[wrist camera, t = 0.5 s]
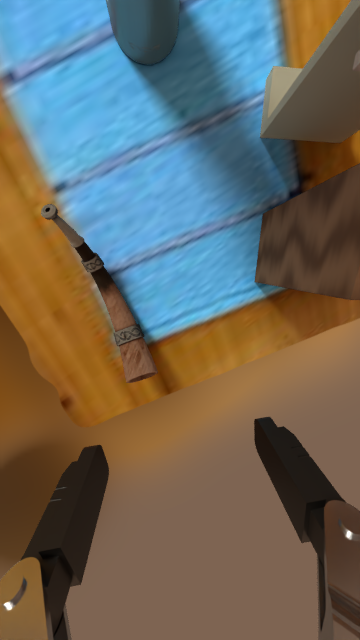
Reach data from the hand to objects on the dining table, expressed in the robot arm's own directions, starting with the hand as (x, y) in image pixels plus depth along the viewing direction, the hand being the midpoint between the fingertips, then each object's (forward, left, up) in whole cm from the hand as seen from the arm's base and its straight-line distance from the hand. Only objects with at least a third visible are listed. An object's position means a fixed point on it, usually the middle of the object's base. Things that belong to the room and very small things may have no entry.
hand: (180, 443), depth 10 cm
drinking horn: (-2, -10, -29) cm, 31 cm away
